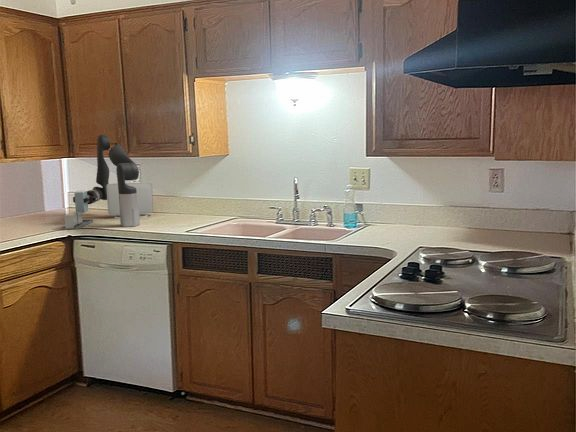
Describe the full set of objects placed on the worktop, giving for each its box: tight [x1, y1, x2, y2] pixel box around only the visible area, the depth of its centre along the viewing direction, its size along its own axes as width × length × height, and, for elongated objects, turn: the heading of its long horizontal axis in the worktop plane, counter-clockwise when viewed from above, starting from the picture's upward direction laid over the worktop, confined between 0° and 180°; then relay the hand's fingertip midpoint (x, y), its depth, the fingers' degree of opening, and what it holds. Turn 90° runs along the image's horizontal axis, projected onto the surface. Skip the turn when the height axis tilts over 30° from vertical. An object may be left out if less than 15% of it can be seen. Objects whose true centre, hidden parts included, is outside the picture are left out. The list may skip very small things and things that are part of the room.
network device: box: [106, 181, 154, 220], centre depth 342 cm, size 26×9×20 cm, turn 108°
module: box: [74, 190, 89, 214], centre depth 319 cm, size 6×5×12 cm
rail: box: [61, 211, 94, 230], centre depth 313 cm, size 23×8×8 cm, turn 178°
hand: (79, 200), depth 316 cm, fingers closed on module, 4 cm apart
